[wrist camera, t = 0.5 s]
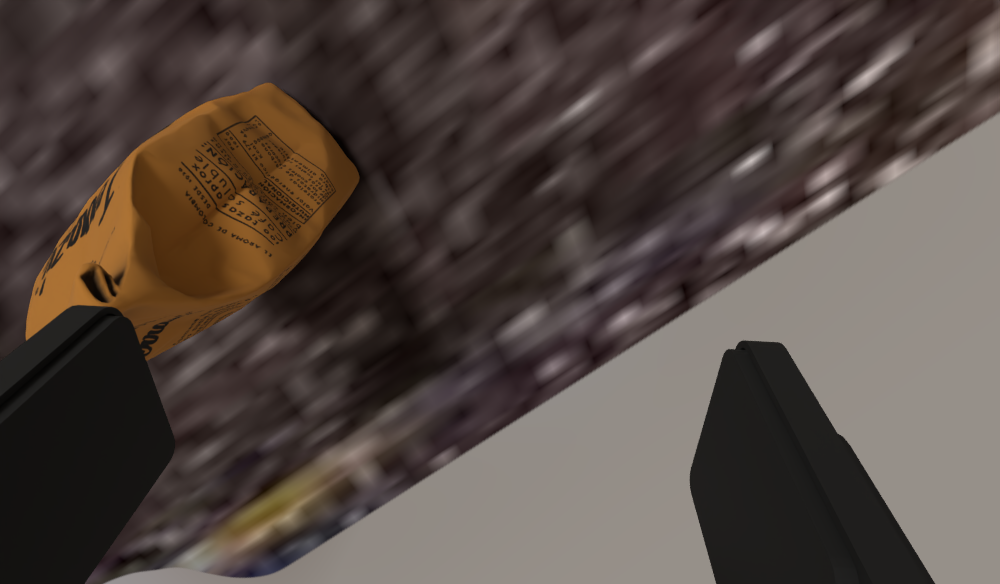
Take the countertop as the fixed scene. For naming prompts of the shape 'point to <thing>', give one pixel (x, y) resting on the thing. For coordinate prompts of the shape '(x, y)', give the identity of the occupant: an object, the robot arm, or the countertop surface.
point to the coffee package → (200, 219)
